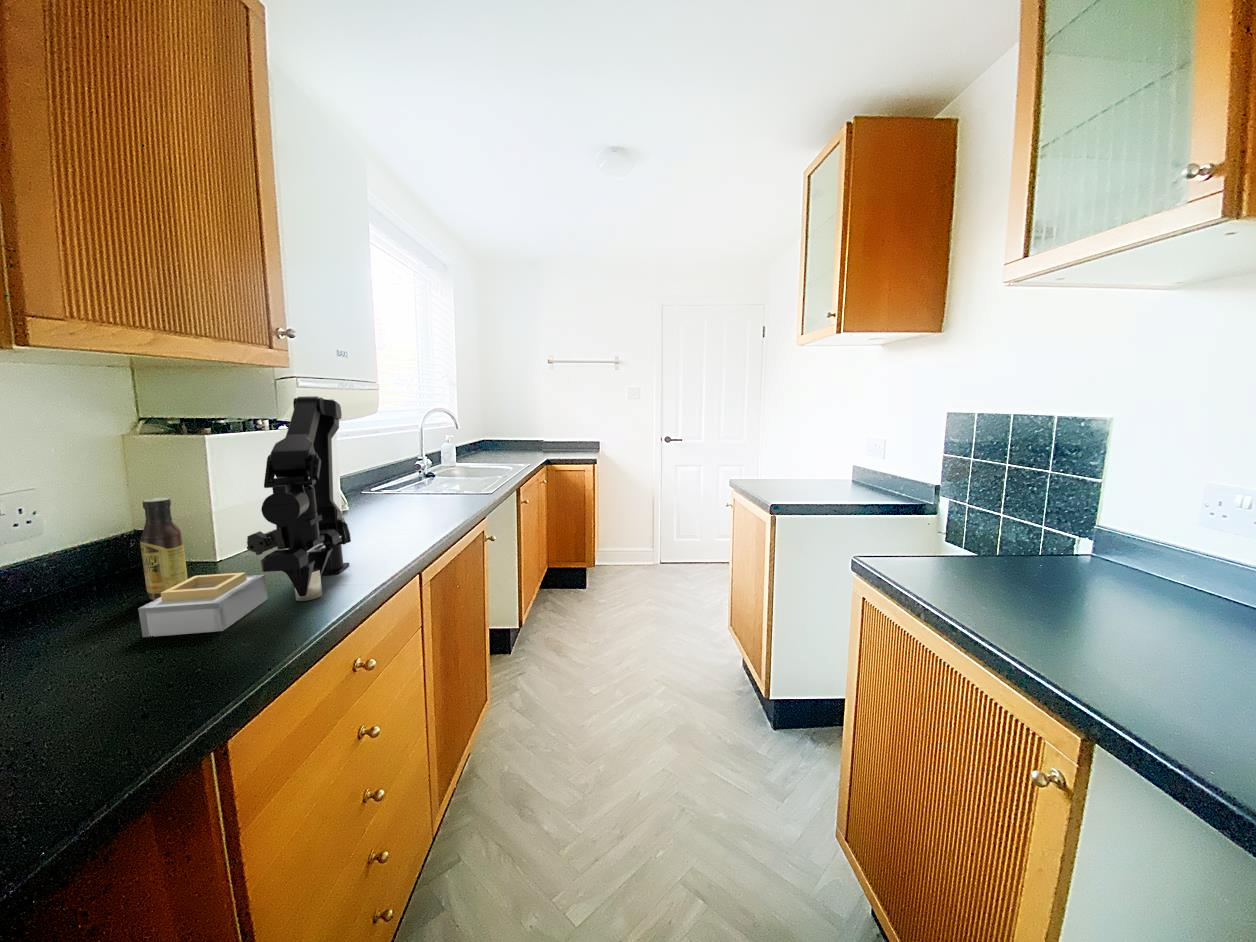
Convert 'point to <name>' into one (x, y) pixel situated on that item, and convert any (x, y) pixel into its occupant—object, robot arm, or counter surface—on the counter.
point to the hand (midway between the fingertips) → (308, 591)
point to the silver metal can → (312, 587)
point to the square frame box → (203, 604)
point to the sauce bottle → (161, 548)
